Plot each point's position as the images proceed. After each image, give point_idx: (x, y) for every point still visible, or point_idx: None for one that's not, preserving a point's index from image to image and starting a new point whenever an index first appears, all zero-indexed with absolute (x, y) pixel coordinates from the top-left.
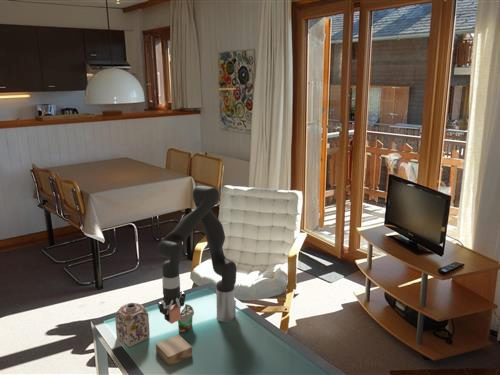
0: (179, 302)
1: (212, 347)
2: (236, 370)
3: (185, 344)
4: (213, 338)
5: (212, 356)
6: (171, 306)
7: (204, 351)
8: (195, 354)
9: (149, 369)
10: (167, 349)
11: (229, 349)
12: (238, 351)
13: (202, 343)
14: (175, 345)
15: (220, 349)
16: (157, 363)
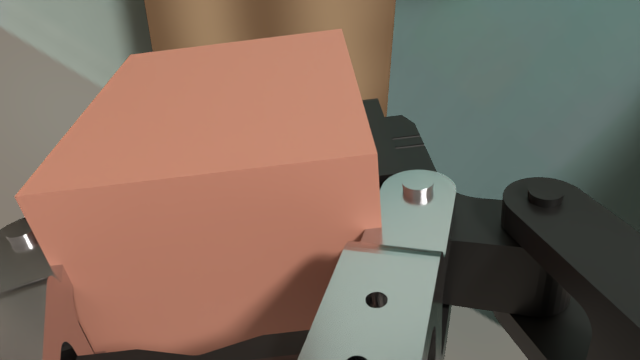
0: (525, 244)
1: (542, 93)
2: (481, 314)
3: (364, 58)
4: (635, 3)
5: (471, 168)
6: (235, 254)
7: (470, 98)
8: (401, 88)
9: (38, 37)
10: (196, 27)
11: (599, 173)
12: (617, 215)
13: (527, 6)
14: (284, 17)
15: (561, 142)
16: (114, 11)
